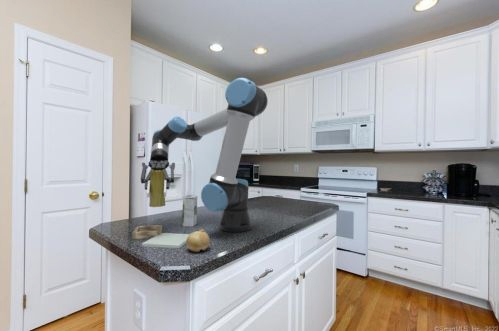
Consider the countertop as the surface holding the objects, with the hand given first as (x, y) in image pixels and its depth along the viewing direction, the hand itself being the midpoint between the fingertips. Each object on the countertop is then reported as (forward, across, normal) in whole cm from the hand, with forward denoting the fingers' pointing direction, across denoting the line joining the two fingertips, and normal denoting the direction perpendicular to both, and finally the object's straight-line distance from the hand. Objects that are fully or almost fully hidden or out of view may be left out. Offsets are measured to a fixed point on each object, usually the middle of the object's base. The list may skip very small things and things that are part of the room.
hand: (156, 194), depth 92 cm
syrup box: (-2, -13, -28) cm, 31 cm away
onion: (+23, -14, -3) cm, 28 cm away
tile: (+14, -5, -11) cm, 18 cm away
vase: (+1, 0, -6) cm, 6 cm away
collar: (+6, +4, -19) cm, 20 cm away
